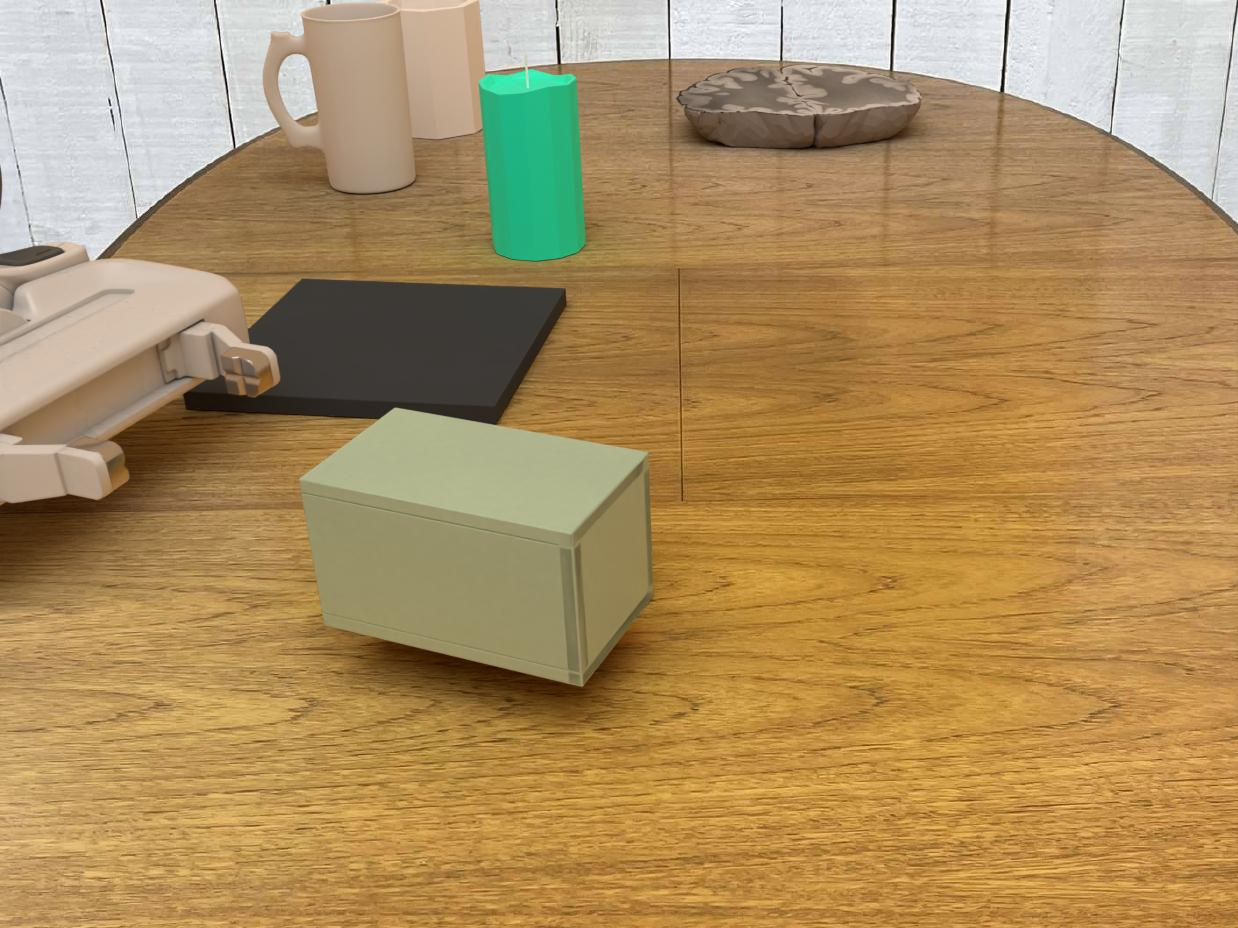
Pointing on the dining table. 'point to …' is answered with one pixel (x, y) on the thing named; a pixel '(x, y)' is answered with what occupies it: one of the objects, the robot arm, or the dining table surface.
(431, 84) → the mug
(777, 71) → the brain slice
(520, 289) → the mat
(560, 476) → the green box
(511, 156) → the candle
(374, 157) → the mug
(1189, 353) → the dining table surface
